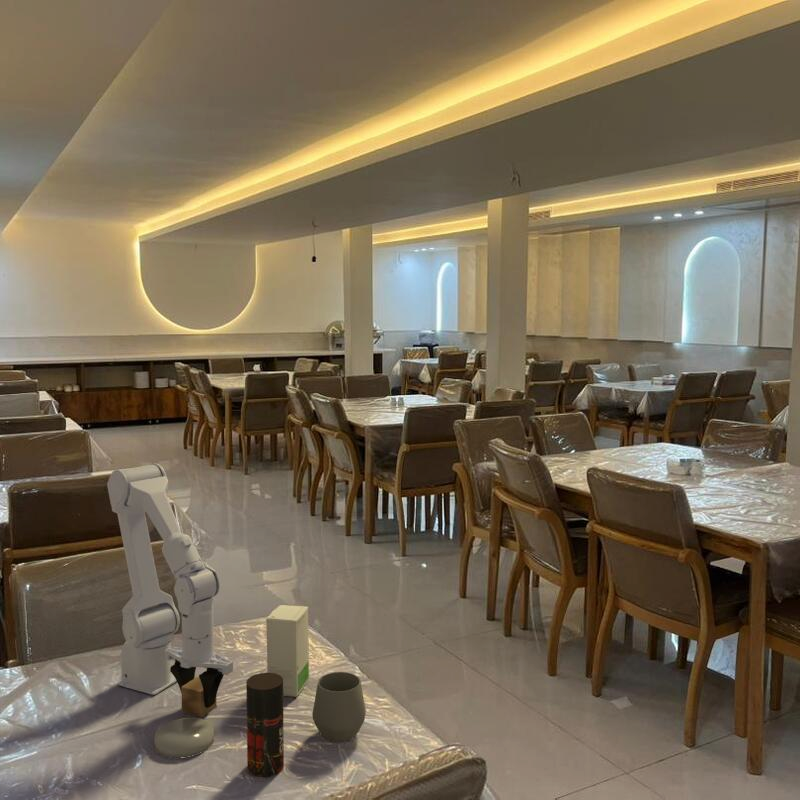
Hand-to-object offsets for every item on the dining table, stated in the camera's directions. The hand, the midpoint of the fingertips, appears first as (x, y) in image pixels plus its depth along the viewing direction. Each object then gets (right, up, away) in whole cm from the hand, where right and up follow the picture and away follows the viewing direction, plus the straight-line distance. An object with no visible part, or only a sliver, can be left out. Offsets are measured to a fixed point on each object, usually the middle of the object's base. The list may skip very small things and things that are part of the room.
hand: (199, 702), depth 148 cm
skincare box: (+15, -1, +10) cm, 18 cm away
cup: (+27, -3, -8) cm, 28 cm away
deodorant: (+16, -4, -18) cm, 24 cm away
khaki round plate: (0, -3, -11) cm, 11 cm away
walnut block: (0, -1, 0) cm, 1 cm away
